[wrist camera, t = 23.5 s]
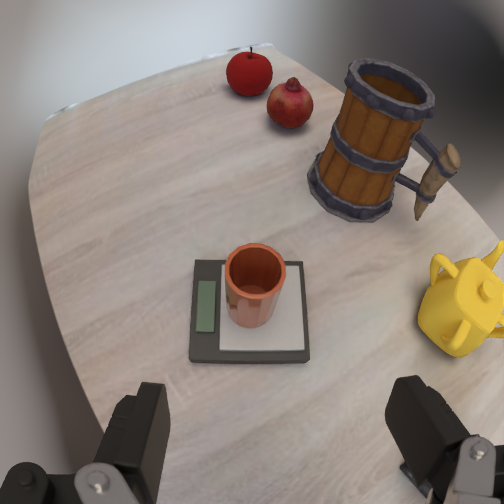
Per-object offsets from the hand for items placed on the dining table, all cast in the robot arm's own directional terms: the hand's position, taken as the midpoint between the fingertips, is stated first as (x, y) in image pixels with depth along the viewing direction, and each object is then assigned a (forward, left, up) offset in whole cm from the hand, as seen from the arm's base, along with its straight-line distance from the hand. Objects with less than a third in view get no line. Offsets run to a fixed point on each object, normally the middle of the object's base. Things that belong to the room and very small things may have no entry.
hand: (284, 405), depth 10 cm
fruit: (+7, +47, -26) cm, 54 cm away
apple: (0, +58, -26) cm, 63 cm away
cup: (0, +12, -23) cm, 25 cm away
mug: (+18, +31, -26) cm, 44 cm away
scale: (0, +12, -26) cm, 28 cm away
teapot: (+28, +11, -26) cm, 40 cm away
